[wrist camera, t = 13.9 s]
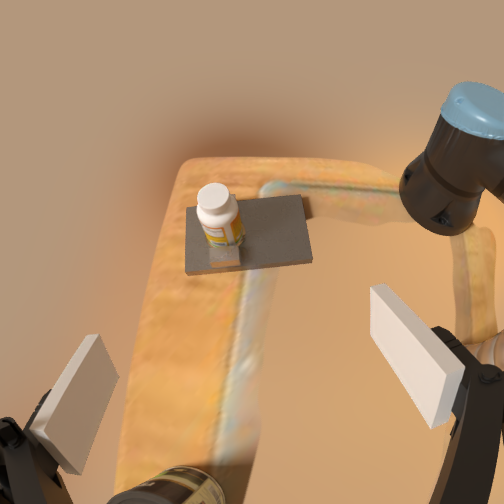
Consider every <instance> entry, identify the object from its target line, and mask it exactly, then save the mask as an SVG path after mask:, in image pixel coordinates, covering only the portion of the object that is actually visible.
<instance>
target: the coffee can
mask: <svg viewBox="0 0 504 504" xmlns="http://www.w3.org/2000/svg"><path fill="white" fill-rule="evenodd" d="M107 504H225V496H224V493H223V491H222V489H221V487H220V485H219V484H218V483H217V482H216V480H215V479H213V478H212V477H211V476H210V475H209V474H207V473H205V472H204V471H201V470H199V469H197V468H193V467H188V466H176V467H171V468H169V469H166V470H164V471H163V472H161V473H160V474H159V475H157V476H155V477H153V478H151V479H150V480H148V481H146V482H144V483H142V484H140V485H138V486H136V487H134V488H132V489H130V490H128V491H124V492H122V493H119V494H117V495H115V496H114V497H113V498H111V499H110V500H109V502H108V503H107Z"/></svg>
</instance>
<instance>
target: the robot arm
mask: <svg viewBox="0 0 504 504" xmlns="http://www.w3.org/2000/svg"><path fill="white" fill-rule="evenodd" d="M485 188H486V189H487V190H488V191H490V192H491V193H492V194H493V195H494V196H496V197H497V198H498V199H499V200H500V201H501V202H502V203H504V93H502V92H501V91H499V90H497V89H495V88H493V87H491V86H488V85H485V84H482V83H478V82H461V83H459V84H456V85H455V86H454V87H453V88H452V89H451V91H450V93H449V95H448V97H447V99H446V101H445V102H444V103H443V105H442V107H441V114H440V116H439V119H438V121H437V124H436V126H435V128H434V131H433V133H432V135H431V137H430V140H429V142H428V144H427V146H426V149H425V151H424V152H422V153H421V154H420V155H419V156H418V157H417V158H416V159H415V160H413V161H412V162H411V163H410V164H409V165H408V166H407V167H406V169H405V170H404V173H403V175H402V177H401V180H400V184H399V192H400V197H401V200H402V203H403V205H404V207H405V208H406V210H407V211H408V213H409V214H410V215H411V217H412V218H413V219H414V220H415V221H416V222H417V223H419V224H420V225H421V226H422V227H424V228H425V229H427V230H429V231H431V232H433V233H436V234H439V235H443V236H454V235H458V234H460V233H462V232H463V231H465V230H466V229H467V228H468V226H469V225H470V224H471V223H472V221H473V220H474V218H475V216H476V213H477V209H478V205H479V202H480V198H481V194H482V192H483V191H484V190H485ZM370 303H371V320H370V335H371V337H372V338H373V340H374V341H375V343H376V344H377V346H378V347H379V349H380V350H381V352H382V353H383V355H384V356H385V358H386V359H387V361H388V363H389V364H390V366H391V367H392V368H393V370H394V372H395V373H396V375H397V376H398V378H399V379H400V381H401V383H402V384H403V386H404V387H405V389H406V390H407V392H408V393H409V395H410V397H411V398H412V400H413V401H414V403H415V405H416V406H417V408H418V409H419V411H420V413H421V414H422V416H423V417H424V419H425V420H426V422H427V424H428V426H429V427H430V429H433V428H435V427H437V426H439V425H442V424H444V423H446V422H448V420H449V417H450V414H451V412H453V414H454V415H455V417H456V421H455V423H454V426H453V428H452V431H451V433H450V435H451V439H450V443H449V446H448V450H447V453H446V457H445V460H444V463H443V466H442V469H441V472H440V475H439V478H438V481H437V484H436V487H435V489H434V492H433V495H432V497H431V500H430V502H429V504H487V503H488V500H489V496H490V492H491V487H492V483H493V478H494V474H495V468H496V463H497V457H498V451H499V444H500V436H501V429H502V436H503V444H504V371H502V370H501V369H500V368H499V367H497V366H495V365H492V364H481V363H480V362H479V361H478V360H477V359H476V358H475V357H474V356H473V355H472V353H471V352H470V351H469V350H468V349H467V348H466V347H465V346H464V345H462V343H461V342H460V341H459V340H458V339H457V340H456V337H455V336H454V335H452V333H450V331H448V330H446V329H444V328H442V327H440V326H437V327H434V328H431V329H430V328H429V327H428V326H427V325H426V324H425V323H424V322H423V321H422V320H421V319H420V318H419V317H418V316H417V315H416V314H415V313H414V312H413V311H412V310H411V309H410V308H409V307H408V306H407V305H406V304H405V303H404V302H403V301H402V300H401V299H400V298H399V297H398V296H397V295H396V294H395V293H394V292H393V291H392V290H391V289H390V288H389V287H388V286H387V285H386V284H385V283H384V284H379V285H375V286H371V287H370ZM118 379H119V375H118V373H117V371H116V369H115V367H114V365H113V363H112V361H111V359H110V357H109V354H108V352H107V350H106V348H105V346H104V343H103V341H102V339H101V337H100V334H92V335H87V336H86V337H85V339H84V340H83V342H82V343H81V345H80V346H79V348H78V349H77V351H76V352H75V354H74V355H73V357H72V358H71V360H70V361H69V363H68V365H67V366H66V368H65V369H64V371H63V373H62V374H61V376H60V377H59V379H58V380H57V382H56V384H55V385H54V387H53V389H50V390H49V391H48V392H47V393H46V394H45V395H44V396H43V397H42V399H41V401H40V402H39V405H38V406H37V407H36V409H35V412H33V414H32V415H31V417H30V419H29V421H28V422H27V424H26V426H25V428H24V429H23V431H22V429H21V428H20V427H19V426H18V424H17V423H16V422H15V420H14V419H13V418H11V417H4V418H1V419H0V504H73V502H72V500H71V498H70V495H69V493H68V491H67V489H66V486H65V484H64V482H63V479H62V477H61V475H60V474H59V472H58V471H57V468H58V466H59V465H60V466H61V467H62V469H63V470H64V471H65V472H66V473H69V474H75V475H82V472H83V469H84V466H85V463H86V460H87V458H88V455H89V452H90V449H91V447H92V444H93V441H94V438H95V436H96V433H97V430H98V428H99V425H100V423H101V420H102V418H103V415H104V412H105V410H106V407H107V405H108V403H109V400H110V398H111V395H112V393H113V390H114V388H115V386H116V383H117V381H118Z"/></svg>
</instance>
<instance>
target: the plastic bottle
mask: <svg viewBox="0 0 504 504" xmlns="http://www.w3.org/2000/svg"><path fill="white" fill-rule="evenodd" d="M464 346H465V347H466V348H467V349H468V350H469V351H470V352H471V353H472V355H473V356H474V357H475V358H476V359H477V360H478V361H479V362H480V363H481V364H492V365H495V366H497V367H499V368H500V369H501V370H502V371H504V330H502V331H501V332H500V333H498V334H497V335H495V336H494V337H492V338H490V339H488V340H486V341H484V342H482V343H477V344H468V345H464Z"/></svg>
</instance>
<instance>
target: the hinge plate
mask: <svg viewBox="0 0 504 504" xmlns="http://www.w3.org/2000/svg"><path fill="white" fill-rule="evenodd" d="M232 196H233V197H234V198H235V199H236V196H235V194H232ZM237 204H238V208H239V213H240V218H241V222H242V227H243V236H242V238H241V240H240V242H239V243H238V244H237V245H233V246H224V247H214V246H212V245H211V244H210V243H209V241H208V239H207V237H206V234H205V232H204V230H203V227H202V225H201V223H200V221H199V218H198V215H197V206H194V207H187V209H186V243H185V273H186V274H187V275H188V276H192V275H202V274H212V273H222V272H232V271H242V270H251V269H261V268H270V267H280V266H289V265H298V264H306V263H312V260H313V257H312V252H311V246H310V241H309V235H308V230H307V224H306V219H305V213H304V208H303V203H302V198H301V195H290V196H280V197H270V198H261V199H252V200H243V201H237Z"/></svg>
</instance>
